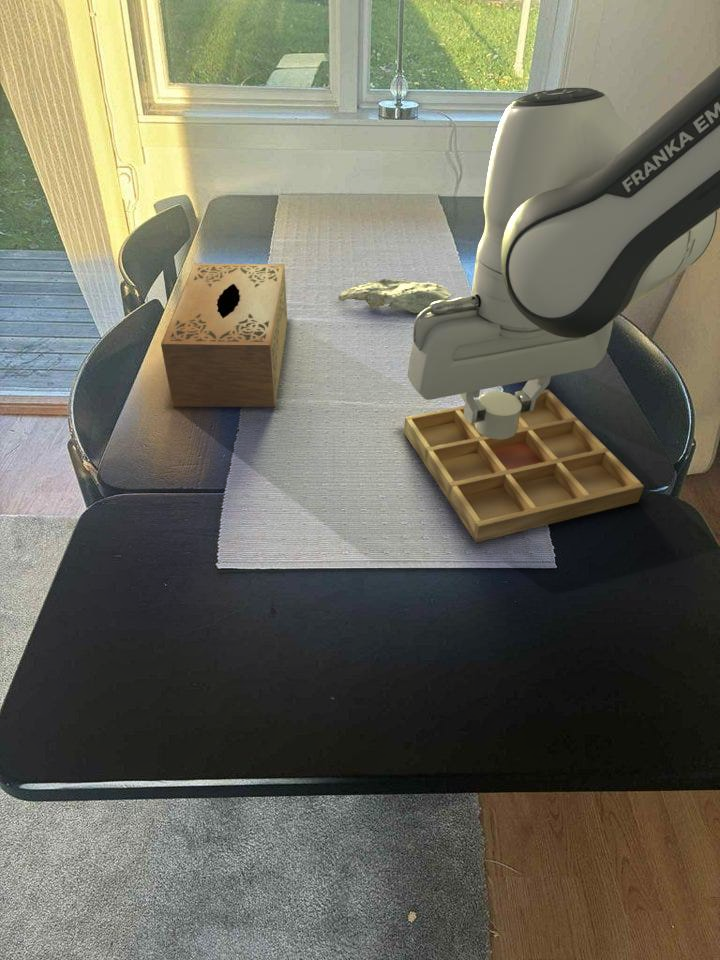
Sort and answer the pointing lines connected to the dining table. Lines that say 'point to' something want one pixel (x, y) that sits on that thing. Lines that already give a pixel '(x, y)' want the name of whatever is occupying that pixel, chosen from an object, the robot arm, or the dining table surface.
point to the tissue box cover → (227, 336)
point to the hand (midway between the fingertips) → (498, 414)
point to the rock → (397, 294)
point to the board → (520, 469)
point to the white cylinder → (499, 415)
